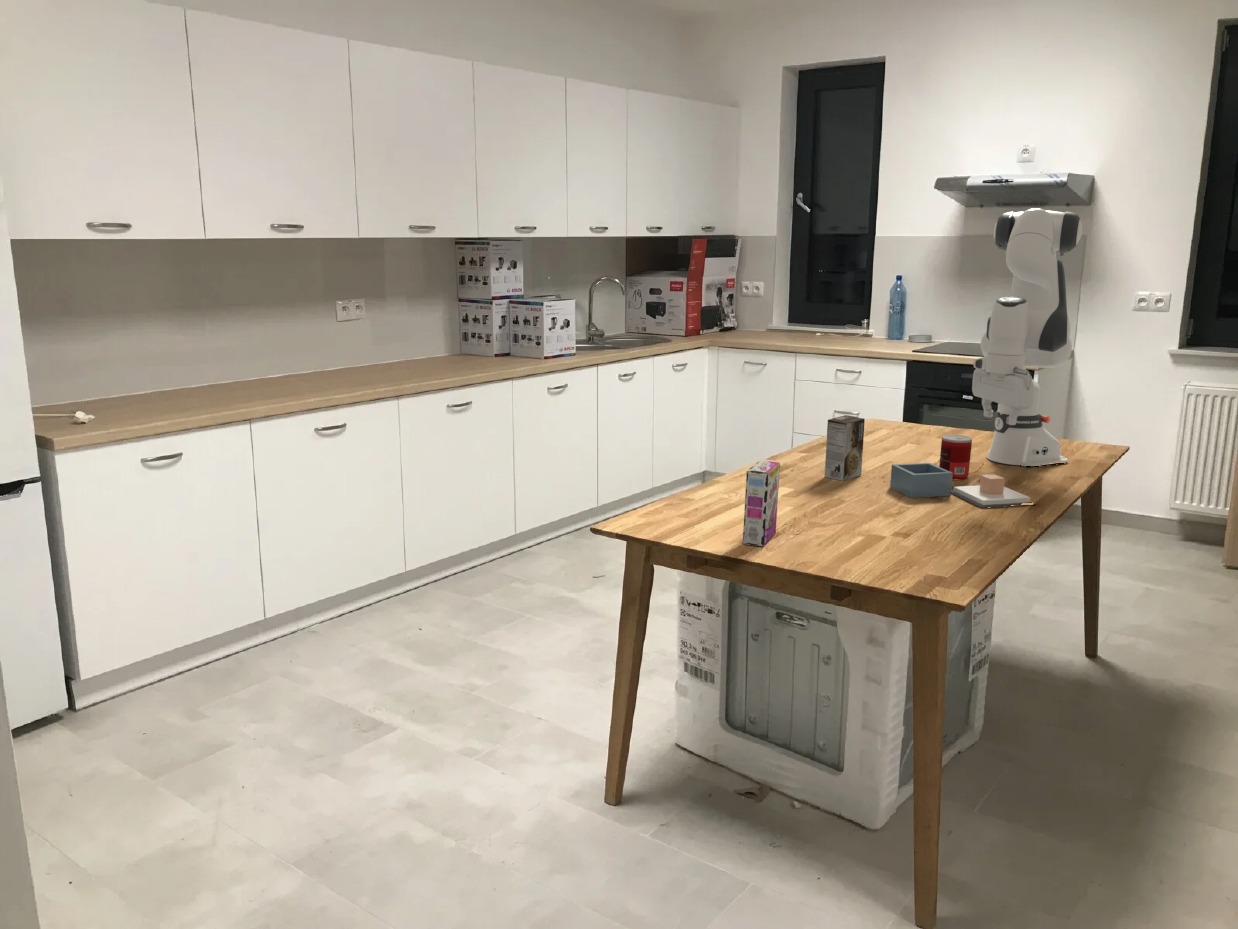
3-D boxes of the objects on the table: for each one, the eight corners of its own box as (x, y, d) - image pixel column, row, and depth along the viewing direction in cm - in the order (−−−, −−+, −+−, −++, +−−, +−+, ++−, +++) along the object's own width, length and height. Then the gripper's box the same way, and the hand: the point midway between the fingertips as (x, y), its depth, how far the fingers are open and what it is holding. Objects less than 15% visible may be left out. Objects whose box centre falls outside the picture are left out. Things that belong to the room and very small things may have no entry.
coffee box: (841, 471, 269) (845, 414, 265) (861, 475, 264) (866, 418, 260) (823, 477, 262) (826, 418, 259) (843, 481, 258) (847, 422, 254)
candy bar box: (764, 548, 204) (768, 473, 200) (742, 545, 206) (745, 470, 202) (777, 533, 214) (781, 461, 210) (755, 530, 216) (758, 459, 212)
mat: (999, 489, 252) (999, 487, 251) (1035, 505, 237) (1036, 503, 237) (947, 492, 248) (947, 490, 248) (981, 508, 234) (981, 506, 234)
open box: (927, 484, 256) (929, 462, 254) (950, 495, 245) (952, 472, 244) (890, 486, 253) (891, 464, 252) (911, 498, 243) (913, 474, 241)
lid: (998, 488, 250) (1000, 469, 249) (1029, 502, 238) (1032, 482, 237) (953, 491, 248) (955, 471, 246) (982, 505, 235) (984, 484, 234)
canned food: (973, 476, 265) (977, 437, 262) (960, 481, 259) (964, 441, 256) (946, 471, 270) (950, 433, 267) (933, 476, 264) (937, 437, 261)
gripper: (1043, 370, 226) (1037, 428, 229) (992, 358, 245) (986, 412, 248) (1019, 371, 224) (1013, 429, 228) (969, 359, 244) (964, 413, 247)
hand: (999, 420), depth 238 cm, fingers open, 8 cm apart
